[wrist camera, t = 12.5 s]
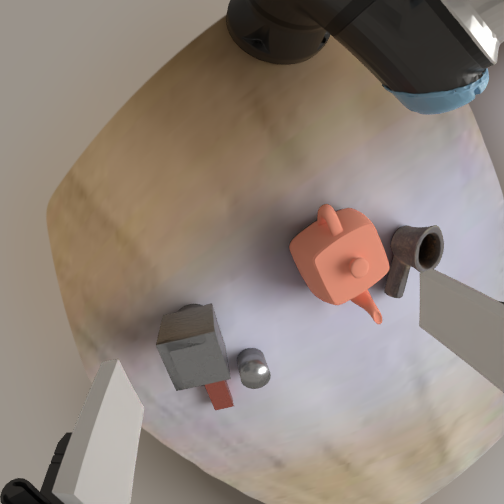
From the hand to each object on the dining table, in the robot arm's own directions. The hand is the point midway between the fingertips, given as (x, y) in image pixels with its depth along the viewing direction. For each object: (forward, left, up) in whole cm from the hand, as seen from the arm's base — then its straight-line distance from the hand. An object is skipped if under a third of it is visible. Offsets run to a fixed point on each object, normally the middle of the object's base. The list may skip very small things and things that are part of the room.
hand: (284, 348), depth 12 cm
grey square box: (+13, -8, -29) cm, 32 cm away
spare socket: (+22, -1, -32) cm, 39 cm away
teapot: (+8, +14, -32) cm, 36 cm away
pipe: (+12, +26, -32) cm, 43 cm away
